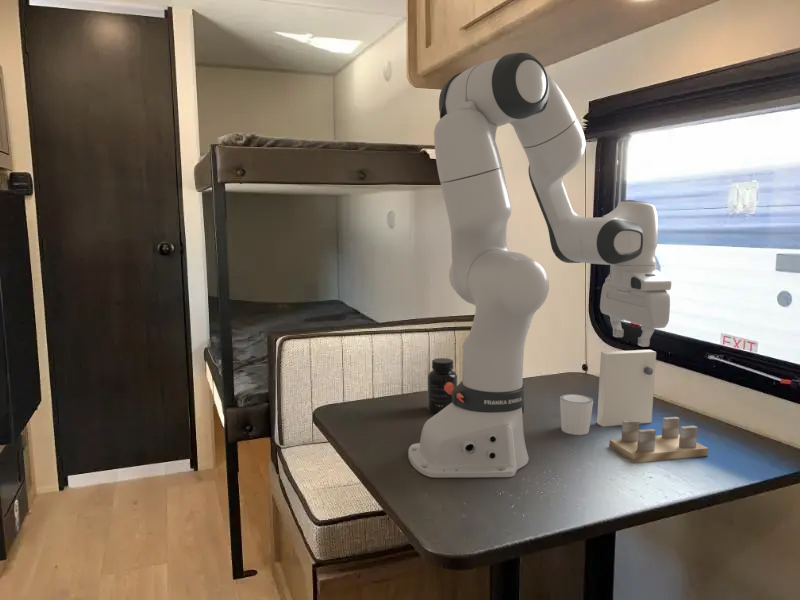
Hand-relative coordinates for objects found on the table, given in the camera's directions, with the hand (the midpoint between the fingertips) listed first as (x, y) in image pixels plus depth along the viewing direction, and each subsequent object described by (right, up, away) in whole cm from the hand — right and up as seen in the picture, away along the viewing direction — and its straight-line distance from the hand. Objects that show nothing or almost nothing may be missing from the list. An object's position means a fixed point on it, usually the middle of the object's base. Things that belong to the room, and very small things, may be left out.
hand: (630, 341), depth 133 cm
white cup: (-13, -19, -2) cm, 23 cm away
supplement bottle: (-40, -17, +10) cm, 45 cm away
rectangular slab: (0, -18, +2) cm, 18 cm away
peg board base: (0, -20, -14) cm, 25 cm away
